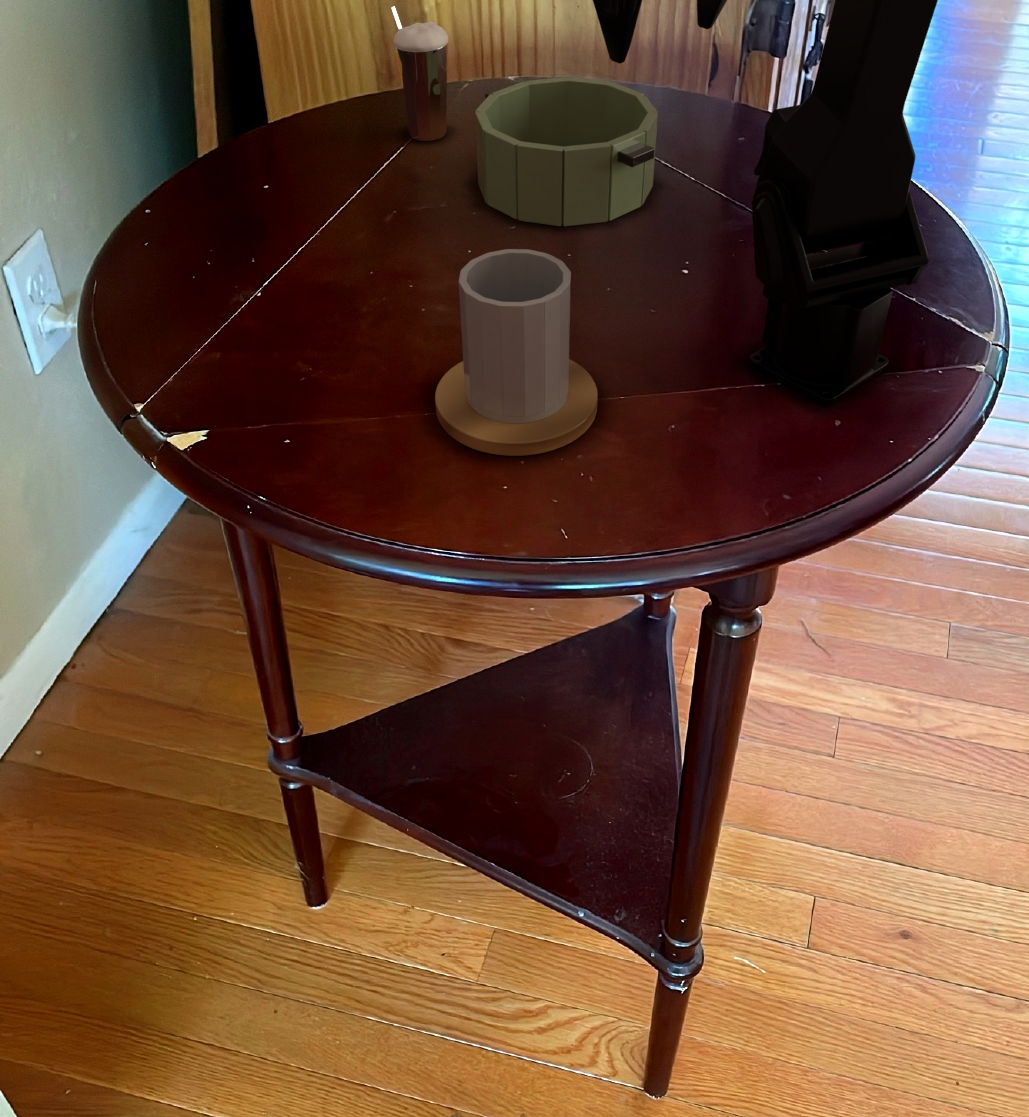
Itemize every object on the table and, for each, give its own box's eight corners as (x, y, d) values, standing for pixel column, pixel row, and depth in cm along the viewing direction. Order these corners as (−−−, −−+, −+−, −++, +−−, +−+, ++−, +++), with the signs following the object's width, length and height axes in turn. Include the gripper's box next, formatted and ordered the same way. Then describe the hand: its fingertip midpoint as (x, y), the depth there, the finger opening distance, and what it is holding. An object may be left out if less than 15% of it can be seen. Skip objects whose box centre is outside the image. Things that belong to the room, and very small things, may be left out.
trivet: (630, 408, 69) (631, 395, 69) (509, 479, 65) (508, 465, 64) (522, 342, 75) (522, 330, 74) (403, 403, 70) (402, 390, 69)
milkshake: (420, 116, 102) (411, -1, 95) (464, 132, 99) (458, 12, 92) (384, 133, 99) (373, 13, 92) (428, 149, 97) (419, 27, 90)
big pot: (699, 192, 90) (707, 118, 86) (575, 250, 84) (576, 173, 79) (556, 129, 99) (557, 59, 95) (434, 177, 93) (429, 105, 89)
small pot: (589, 394, 69) (593, 277, 63) (512, 437, 66) (510, 318, 60) (521, 352, 72) (519, 237, 67) (445, 391, 69) (436, 275, 64)
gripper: (683, -257, 78) (665, -15, 88) (481, -215, 69) (488, 48, 80) (816, -235, 72) (778, 21, 83) (613, -186, 63) (601, 94, 74)
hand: (662, 43), depth 80 cm, fingers open, 9 cm apart
